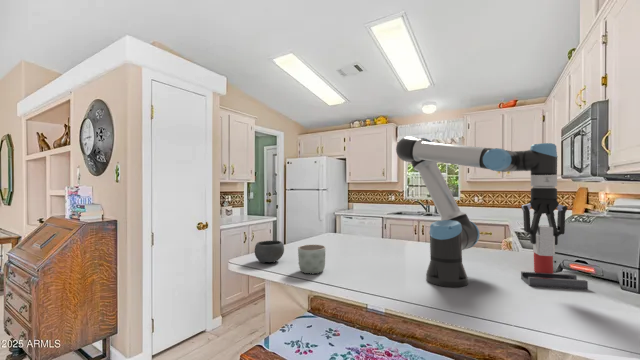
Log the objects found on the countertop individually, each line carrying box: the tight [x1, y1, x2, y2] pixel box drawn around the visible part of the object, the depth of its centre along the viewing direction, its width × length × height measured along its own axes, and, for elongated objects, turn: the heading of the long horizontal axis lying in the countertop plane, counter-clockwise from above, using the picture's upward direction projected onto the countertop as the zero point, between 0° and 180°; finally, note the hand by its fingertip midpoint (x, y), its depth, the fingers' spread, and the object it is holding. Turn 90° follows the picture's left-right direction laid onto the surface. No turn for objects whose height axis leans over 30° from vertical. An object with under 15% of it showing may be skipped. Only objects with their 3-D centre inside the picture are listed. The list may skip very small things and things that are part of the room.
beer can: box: [533, 252, 554, 273], centre depth 127 cm, size 7×7×12 cm
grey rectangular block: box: [536, 224, 554, 257], centre depth 106 cm, size 4×4×10 cm
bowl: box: [254, 240, 285, 263], centre depth 152 cm, size 15×15×10 cm
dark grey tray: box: [520, 271, 589, 291], centre depth 113 cm, size 18×8×3 cm, turn 75°
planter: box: [297, 244, 327, 275], centre depth 134 cm, size 12×12×11 cm
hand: (543, 253), depth 105 cm, fingers closed on grey rectangular block, 4 cm apart
